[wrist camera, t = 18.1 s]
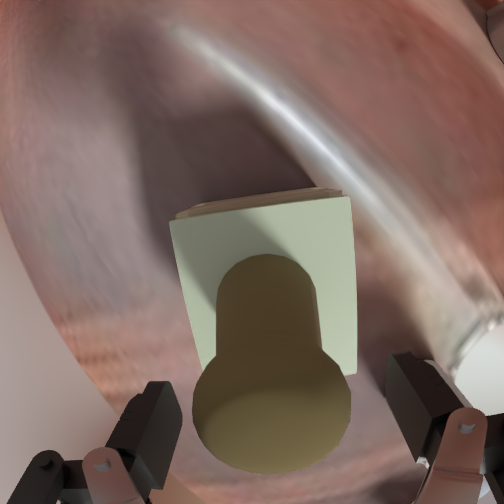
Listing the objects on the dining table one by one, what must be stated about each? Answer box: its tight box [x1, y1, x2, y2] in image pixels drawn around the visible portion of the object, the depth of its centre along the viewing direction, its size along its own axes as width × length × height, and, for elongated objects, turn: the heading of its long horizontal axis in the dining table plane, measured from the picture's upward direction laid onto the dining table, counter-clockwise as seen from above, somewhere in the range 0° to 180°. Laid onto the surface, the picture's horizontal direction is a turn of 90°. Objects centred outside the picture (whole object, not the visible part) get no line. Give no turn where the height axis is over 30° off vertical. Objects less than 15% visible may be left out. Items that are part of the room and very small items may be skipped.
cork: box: [192, 254, 351, 474], centre depth 13 cm, size 6×6×11 cm
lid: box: [169, 195, 357, 376], centre depth 19 cm, size 12×10×1 cm
